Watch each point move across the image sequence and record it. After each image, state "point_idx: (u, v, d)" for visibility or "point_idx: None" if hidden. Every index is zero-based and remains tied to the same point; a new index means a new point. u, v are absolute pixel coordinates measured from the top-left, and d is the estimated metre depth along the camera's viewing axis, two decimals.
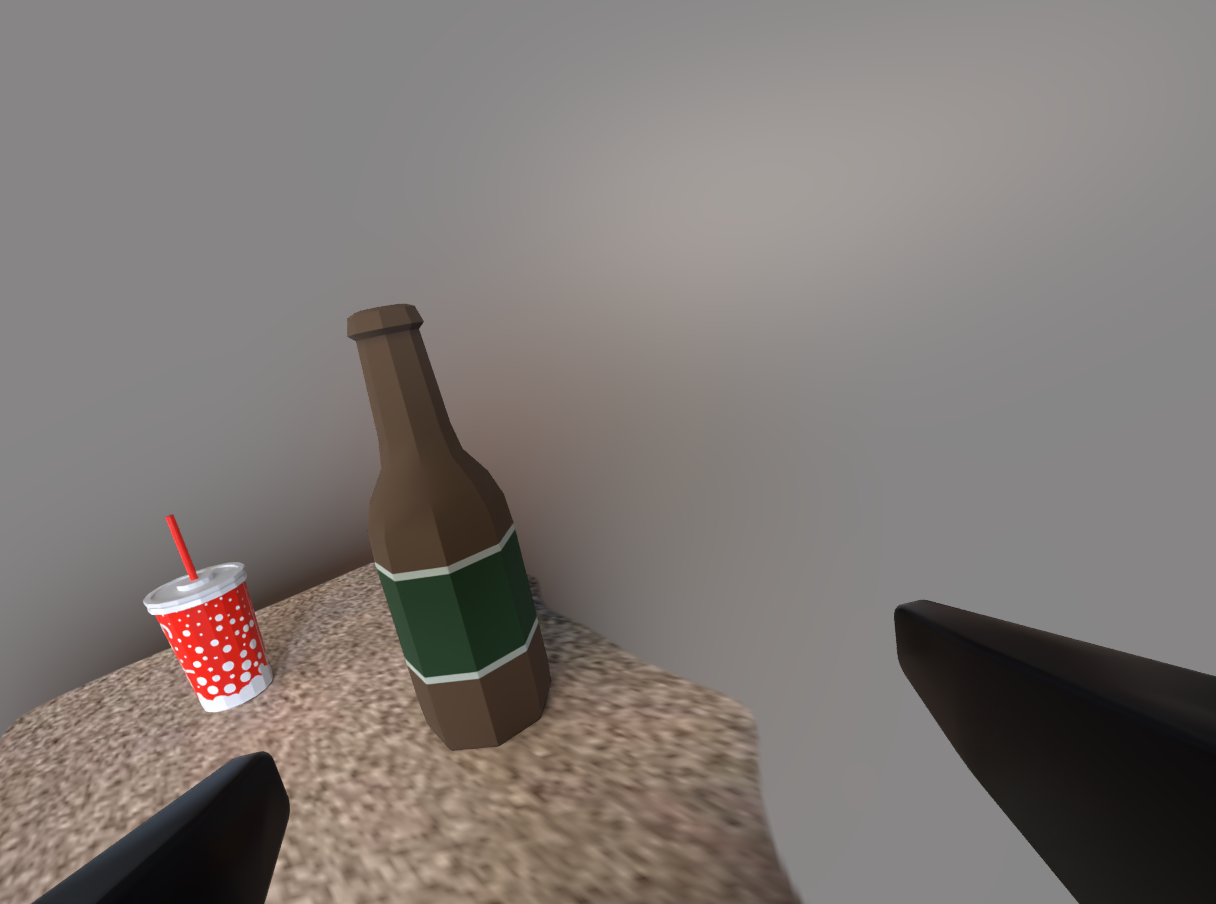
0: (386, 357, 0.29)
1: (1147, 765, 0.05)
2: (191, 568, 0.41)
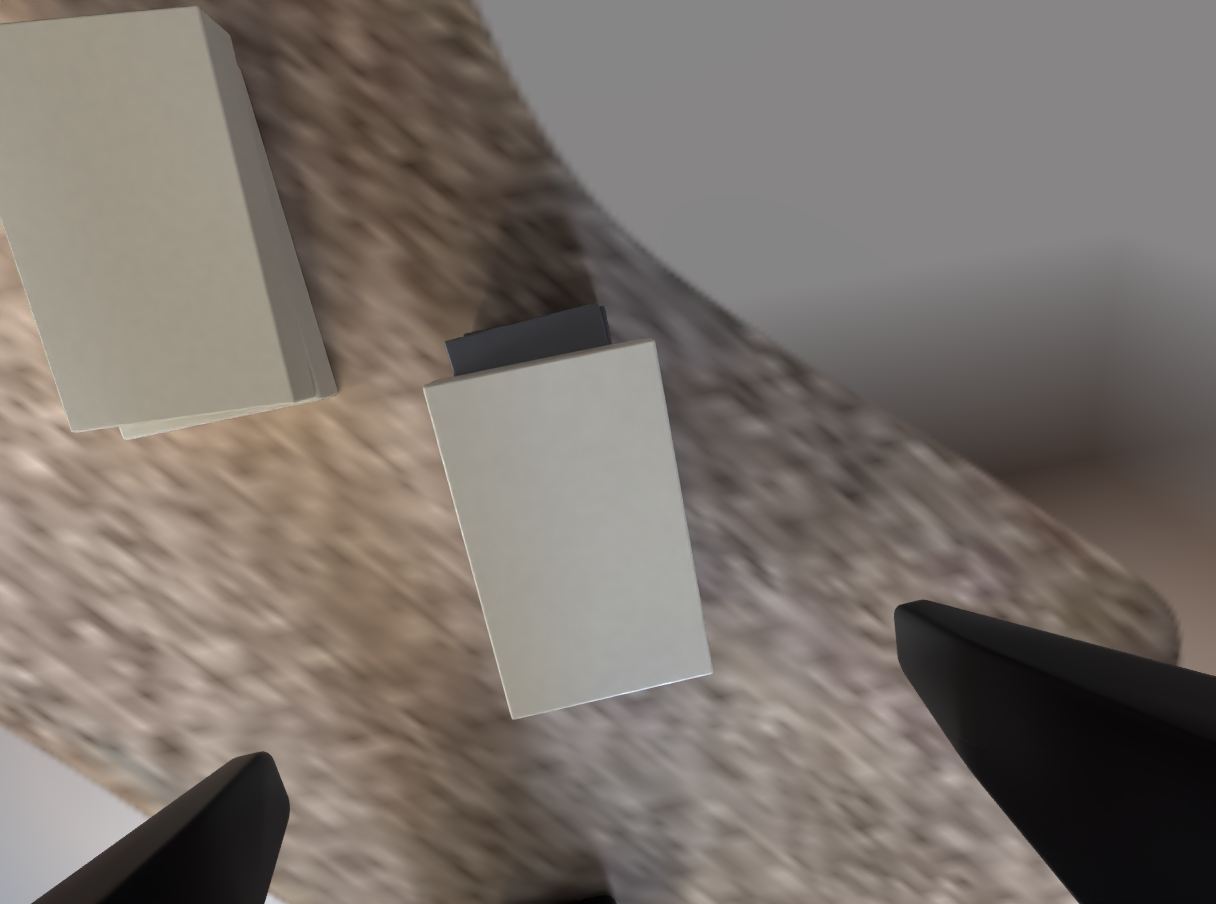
0: None
1: (1147, 765, 0.05)
2: None
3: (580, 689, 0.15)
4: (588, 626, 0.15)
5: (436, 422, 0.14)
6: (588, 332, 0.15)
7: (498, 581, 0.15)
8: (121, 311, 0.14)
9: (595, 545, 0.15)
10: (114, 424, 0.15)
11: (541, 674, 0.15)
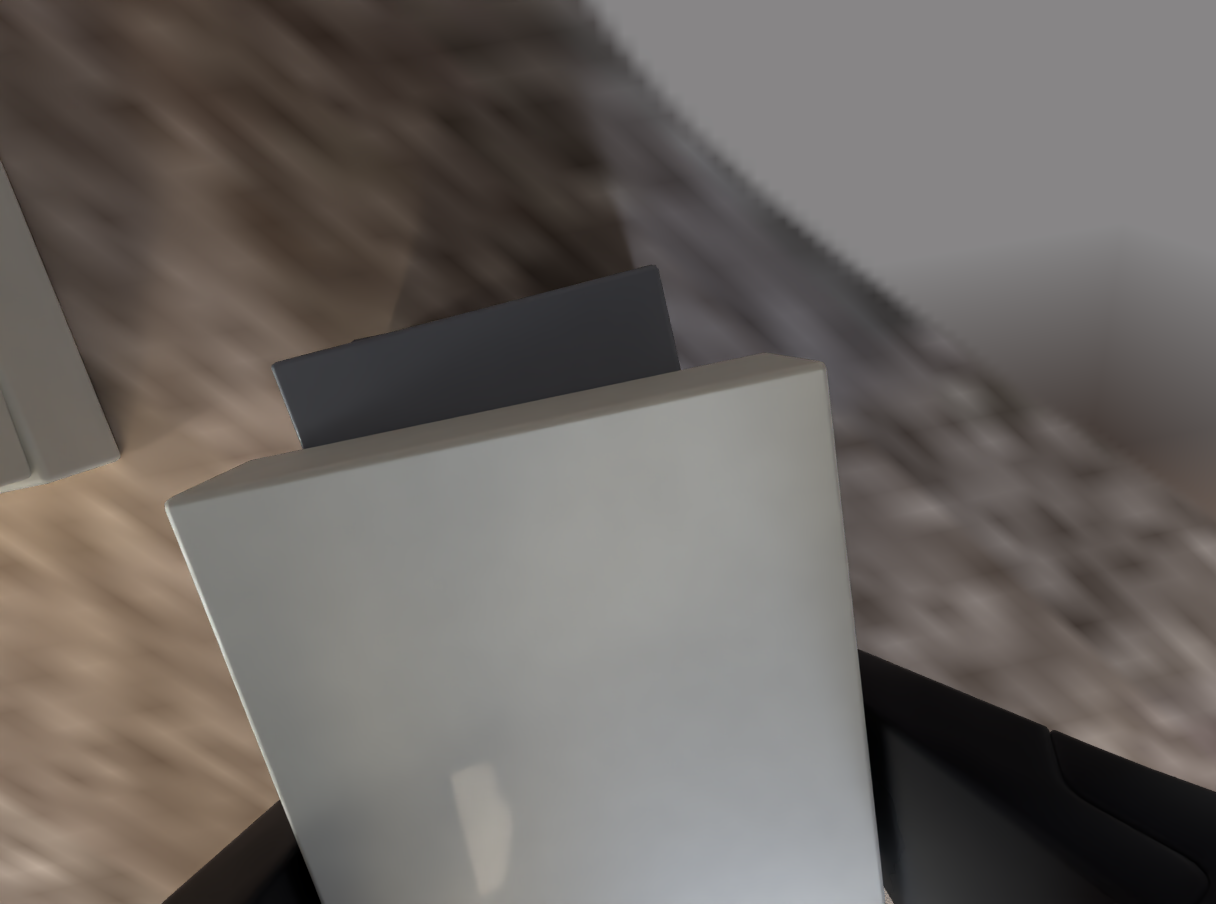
0: None
1: (951, 813, 0.05)
2: None
3: None
4: None
5: (211, 598, 0.05)
6: (632, 339, 0.06)
7: None
8: None
9: (650, 876, 0.06)
10: None
11: None
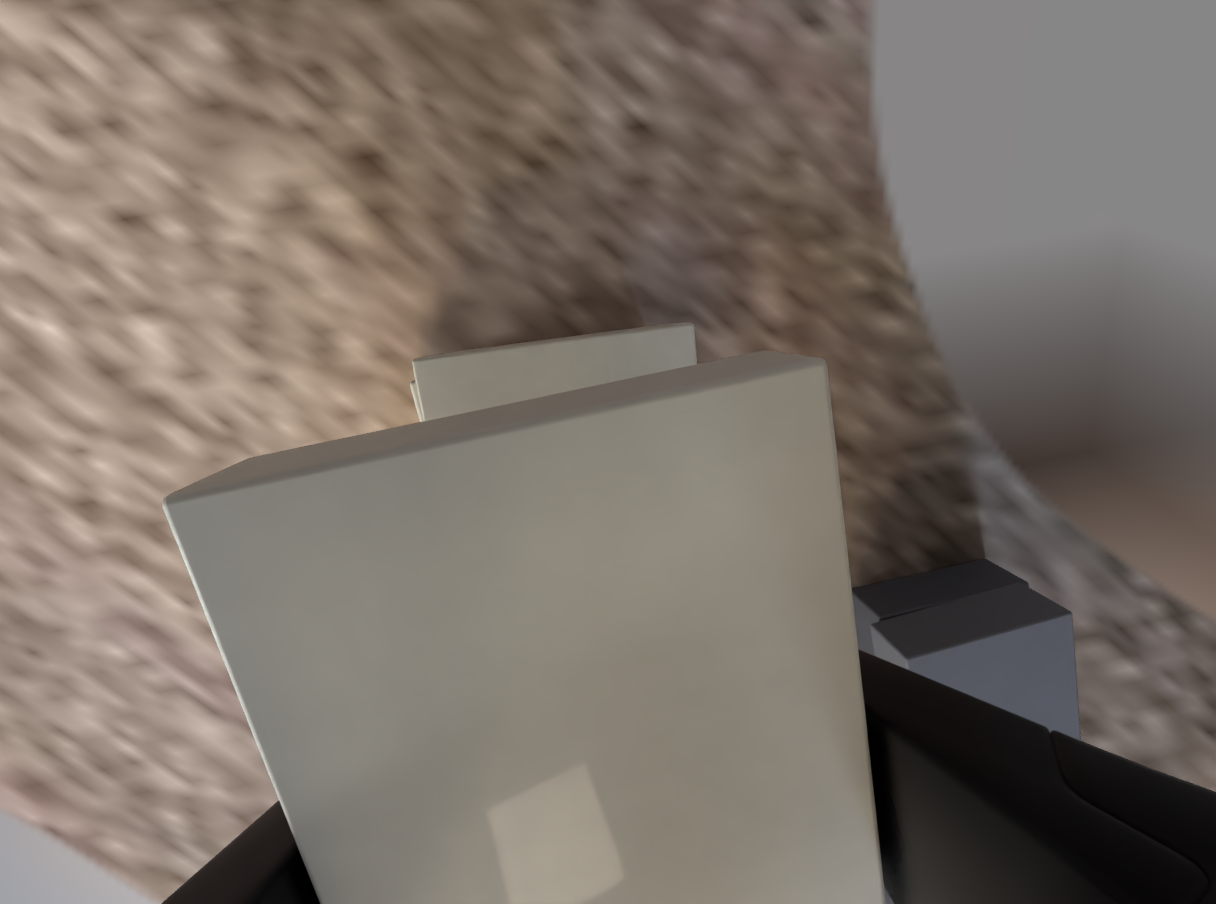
0: None
1: (951, 814, 0.05)
2: None
3: None
4: None
5: (209, 596, 0.05)
6: (1057, 642, 0.14)
7: None
8: None
9: (650, 875, 0.06)
10: None
11: None
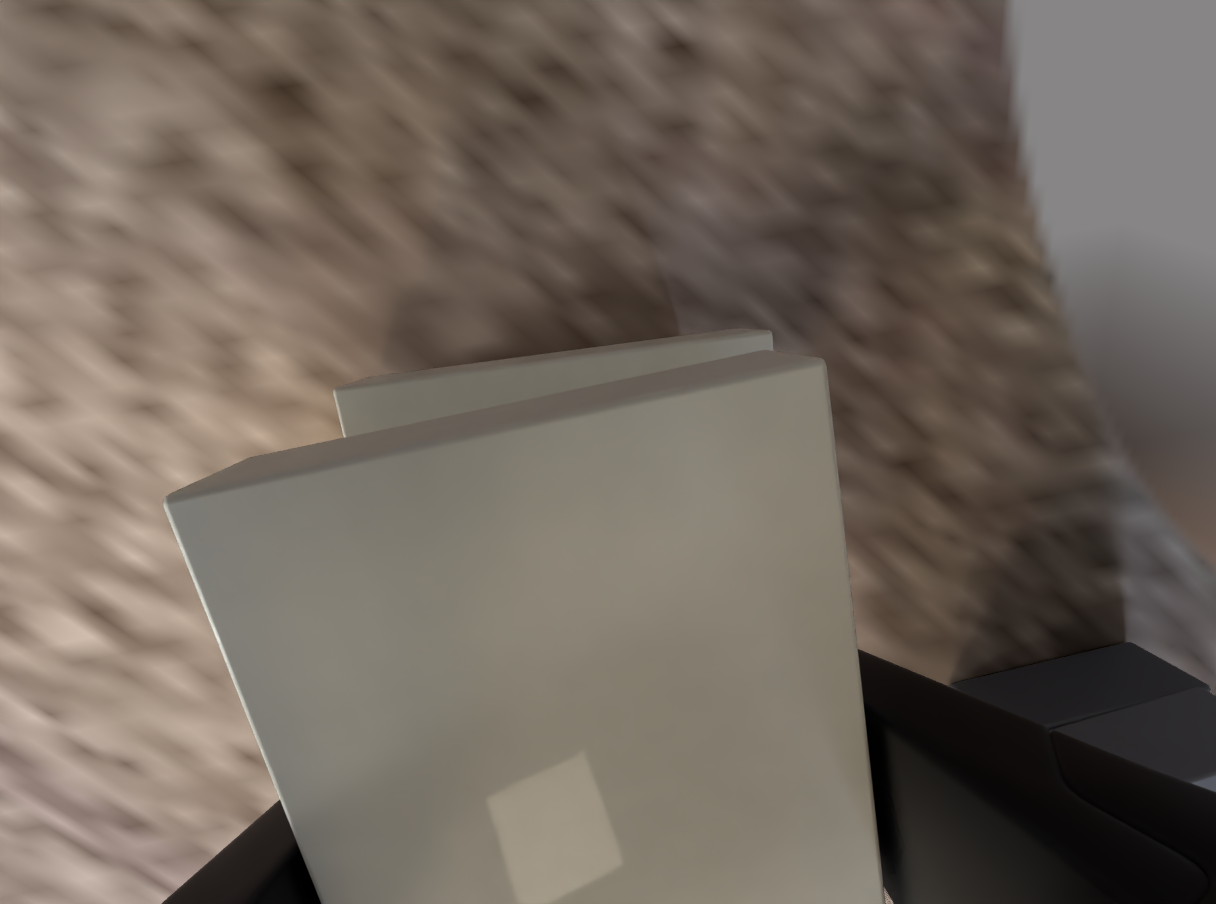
0: None
1: (951, 814, 0.05)
2: None
3: None
4: None
5: (210, 595, 0.05)
6: None
7: None
8: None
9: (650, 874, 0.06)
10: None
11: None
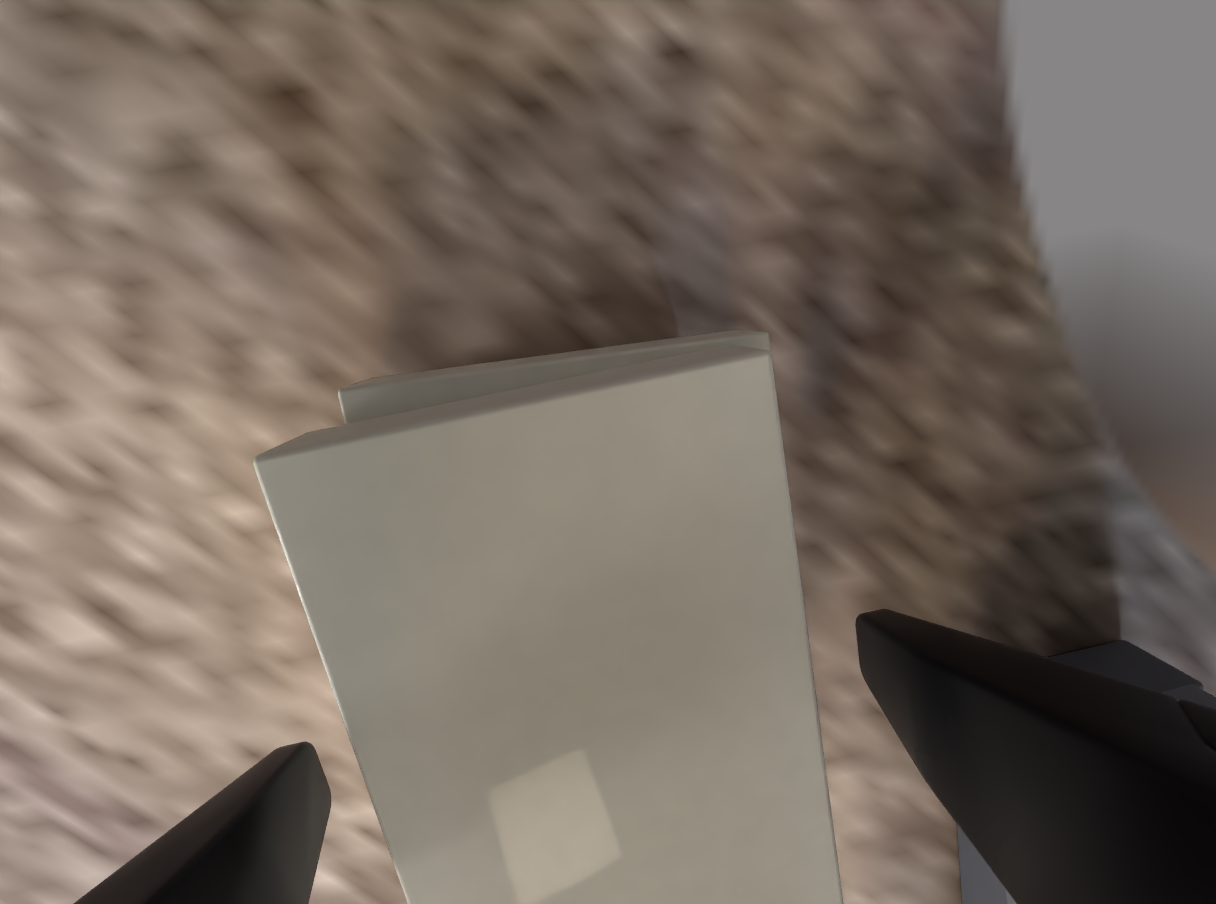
0: None
1: (1083, 781, 0.05)
2: None
3: None
4: None
5: (287, 536, 0.06)
6: None
7: (436, 845, 0.07)
8: None
9: (634, 771, 0.07)
10: None
11: None
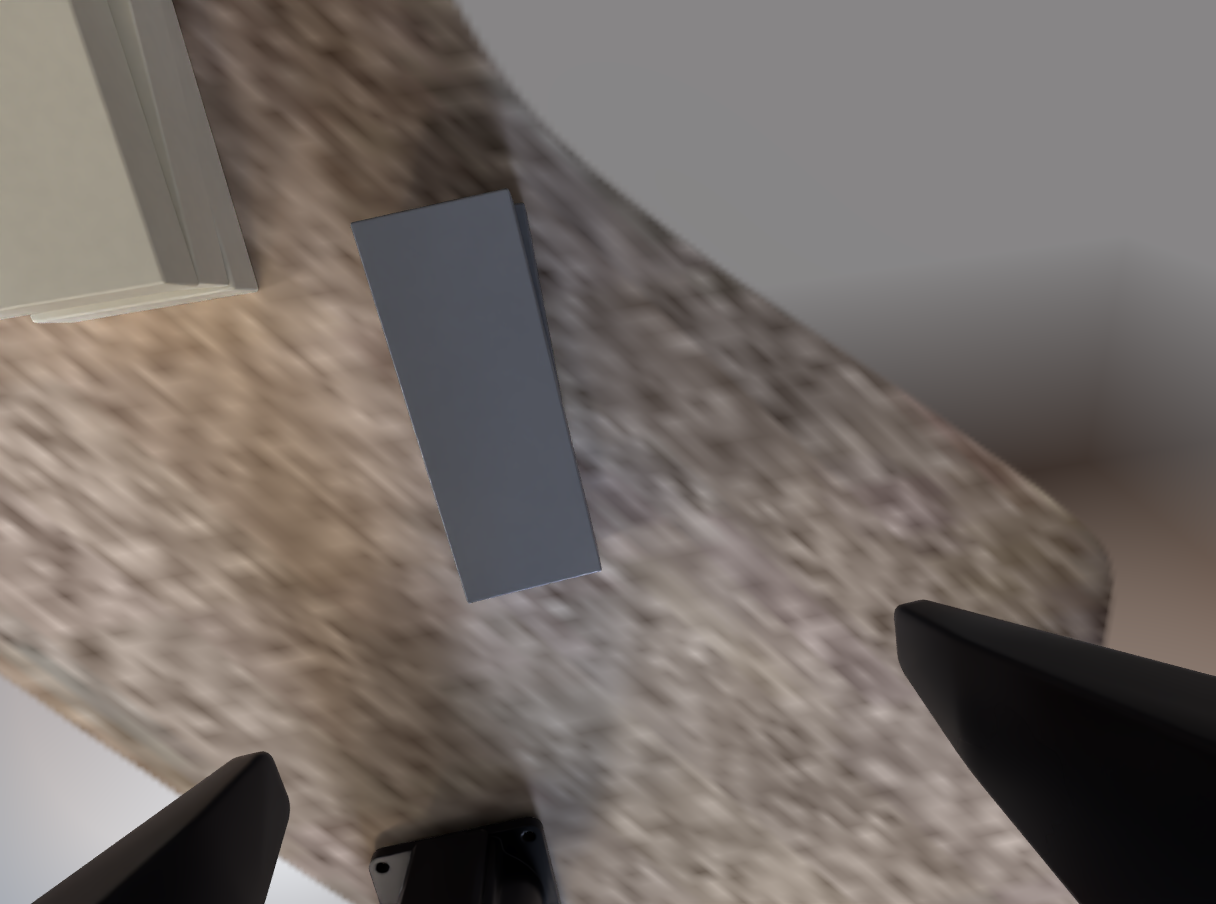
0: None
1: (1147, 766, 0.05)
2: None
3: None
4: None
5: None
6: (498, 219, 0.15)
7: None
8: None
9: None
10: None
11: None
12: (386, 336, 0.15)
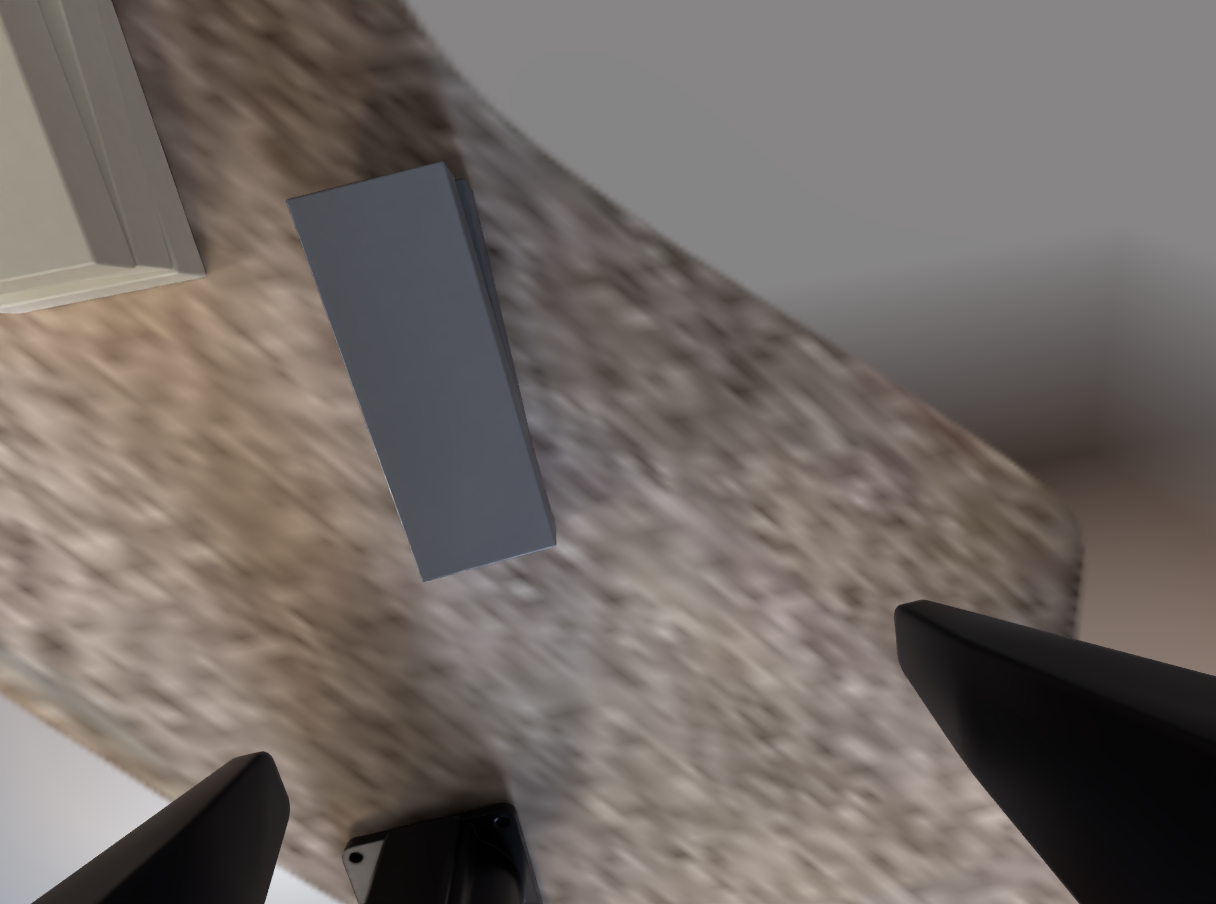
0: None
1: (1147, 765, 0.05)
2: None
3: None
4: None
5: None
6: (434, 192, 0.15)
7: None
8: None
9: None
10: None
11: None
12: (327, 313, 0.15)
